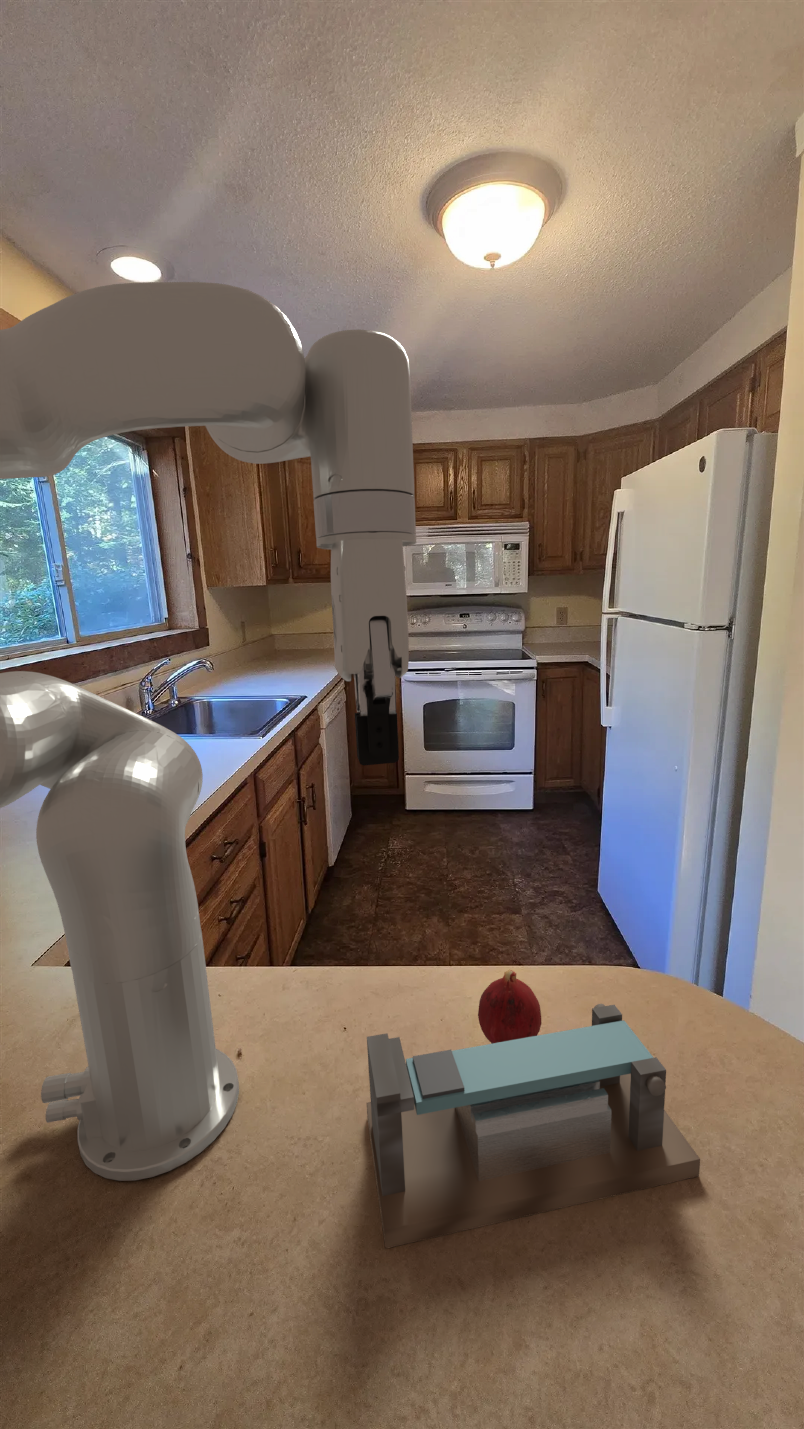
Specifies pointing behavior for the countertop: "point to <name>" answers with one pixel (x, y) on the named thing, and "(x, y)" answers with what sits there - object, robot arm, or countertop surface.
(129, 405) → the robot arm
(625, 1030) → the bar
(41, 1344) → the countertop surface
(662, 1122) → the clip base
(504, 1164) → the heat sink
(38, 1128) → the countertop surface
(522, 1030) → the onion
